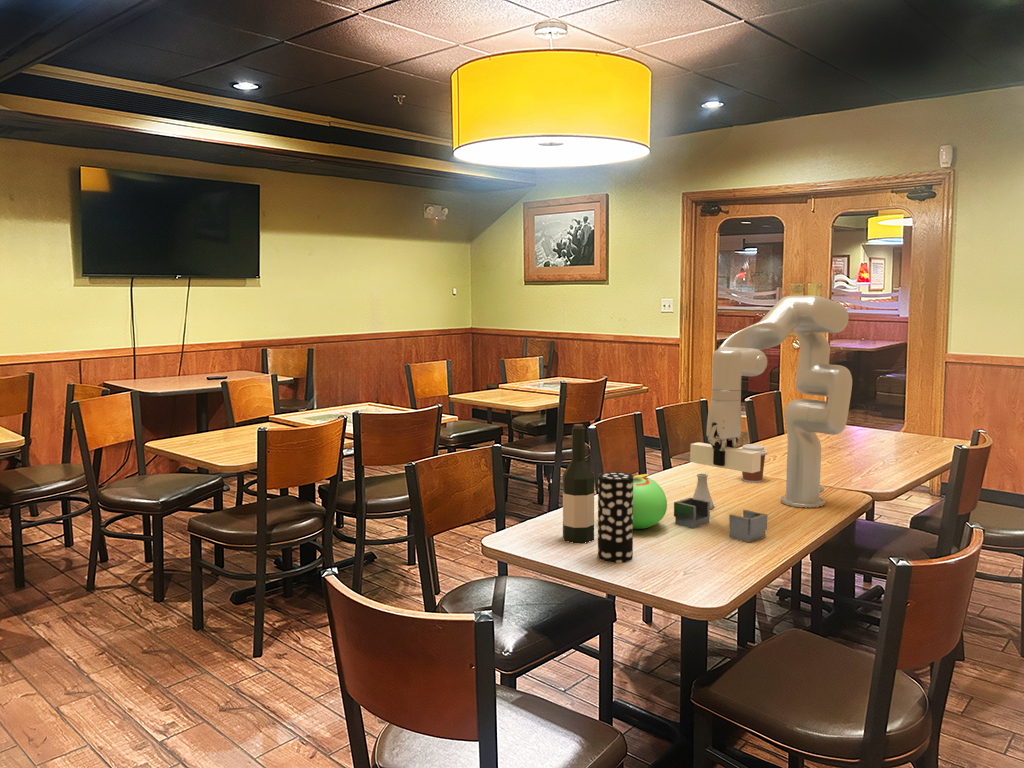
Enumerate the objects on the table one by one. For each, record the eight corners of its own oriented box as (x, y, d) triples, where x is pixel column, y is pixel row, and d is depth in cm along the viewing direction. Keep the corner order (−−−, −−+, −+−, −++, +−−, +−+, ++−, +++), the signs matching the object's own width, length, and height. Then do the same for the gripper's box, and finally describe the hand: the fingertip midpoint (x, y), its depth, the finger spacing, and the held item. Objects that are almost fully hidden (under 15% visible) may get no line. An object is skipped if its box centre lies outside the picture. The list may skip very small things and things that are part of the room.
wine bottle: (597, 535, 204) (597, 423, 200) (590, 545, 196) (590, 428, 193) (567, 532, 206) (566, 421, 203) (558, 542, 198) (558, 426, 195)
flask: (714, 511, 226) (715, 477, 225) (689, 510, 228) (690, 476, 226) (713, 504, 233) (714, 472, 232) (689, 503, 235) (689, 471, 234)
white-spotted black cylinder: (594, 552, 190) (595, 472, 188) (628, 551, 191) (628, 471, 189) (601, 563, 182) (601, 480, 180) (636, 562, 183) (637, 479, 181)
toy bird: (676, 534, 204) (676, 480, 202) (614, 538, 201) (614, 483, 200) (652, 516, 222) (653, 465, 220) (595, 519, 219) (595, 468, 217)
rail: (698, 460, 215) (699, 442, 215) (760, 470, 201) (760, 452, 201) (690, 461, 213) (690, 443, 212) (751, 473, 198) (752, 453, 198)
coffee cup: (739, 476, 269) (740, 442, 268) (767, 478, 266) (768, 444, 265) (737, 482, 261) (738, 447, 259) (765, 484, 257) (766, 449, 256)
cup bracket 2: (744, 531, 206) (745, 509, 205) (766, 537, 201) (767, 514, 200) (728, 537, 201) (729, 515, 200) (751, 543, 196) (751, 520, 195)
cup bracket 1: (689, 518, 219) (690, 497, 218) (709, 523, 214) (709, 501, 213) (673, 523, 214) (674, 502, 213) (693, 528, 209) (693, 506, 208)
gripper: (731, 392, 213) (729, 458, 215) (695, 397, 202) (693, 466, 204) (755, 395, 208) (753, 462, 210) (720, 399, 197) (718, 470, 198)
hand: (724, 463), depth 207 cm, fingers closed on rail, 4 cm apart
